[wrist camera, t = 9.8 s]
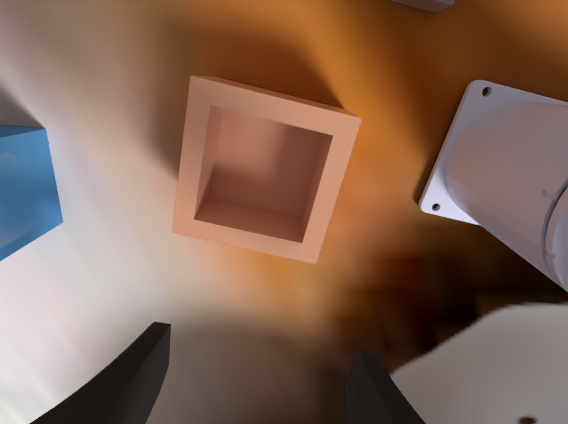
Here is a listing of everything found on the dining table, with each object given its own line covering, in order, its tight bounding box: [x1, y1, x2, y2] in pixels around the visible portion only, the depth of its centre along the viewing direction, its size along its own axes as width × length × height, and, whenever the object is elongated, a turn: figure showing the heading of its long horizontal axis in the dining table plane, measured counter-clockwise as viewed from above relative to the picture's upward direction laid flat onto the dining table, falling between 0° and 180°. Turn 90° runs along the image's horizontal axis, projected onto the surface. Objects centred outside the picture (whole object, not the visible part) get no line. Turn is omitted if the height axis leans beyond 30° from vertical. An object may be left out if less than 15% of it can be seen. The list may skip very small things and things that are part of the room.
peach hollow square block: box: [172, 76, 362, 264], centre depth 18 cm, size 8×8×5 cm
